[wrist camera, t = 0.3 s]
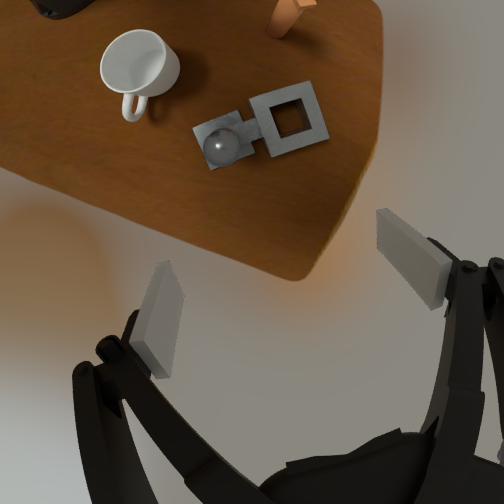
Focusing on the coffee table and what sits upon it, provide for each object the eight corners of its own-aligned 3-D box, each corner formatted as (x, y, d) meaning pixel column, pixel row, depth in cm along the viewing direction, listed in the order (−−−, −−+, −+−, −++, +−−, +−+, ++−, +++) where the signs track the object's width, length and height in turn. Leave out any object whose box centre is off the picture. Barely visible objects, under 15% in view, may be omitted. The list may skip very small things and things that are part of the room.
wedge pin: (261, 22, 29) (279, -21, 16) (280, 17, 29) (306, -25, 15) (271, 43, 31) (294, 7, 17) (290, 38, 30) (322, 3, 17)
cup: (186, 49, 30) (174, 29, 21) (169, 123, 36) (151, 126, 27) (135, 46, 29) (109, 30, 20) (119, 118, 34) (89, 122, 25)
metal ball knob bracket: (190, 123, 36) (175, 126, 25) (301, 84, 34) (328, 73, 24) (213, 174, 40) (207, 196, 29) (319, 135, 38) (351, 144, 28)
